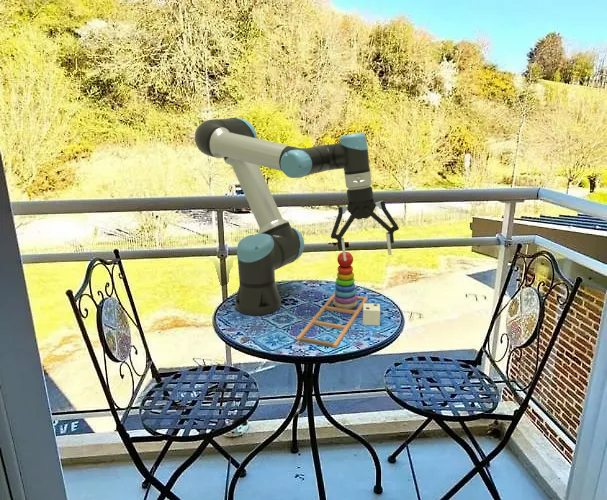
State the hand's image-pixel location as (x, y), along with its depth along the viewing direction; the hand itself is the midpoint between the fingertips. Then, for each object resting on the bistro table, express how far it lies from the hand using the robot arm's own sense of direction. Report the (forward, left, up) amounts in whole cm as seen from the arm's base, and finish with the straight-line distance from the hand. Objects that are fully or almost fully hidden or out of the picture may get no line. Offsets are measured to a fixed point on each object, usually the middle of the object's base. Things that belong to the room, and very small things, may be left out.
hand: (367, 257), depth 139 cm
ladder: (-8, -6, -19) cm, 22 cm away
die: (+3, -4, -20) cm, 20 cm away
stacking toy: (-8, +5, -20) cm, 22 cm away
